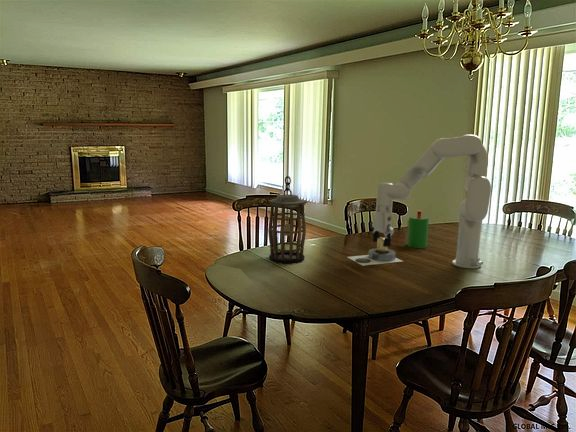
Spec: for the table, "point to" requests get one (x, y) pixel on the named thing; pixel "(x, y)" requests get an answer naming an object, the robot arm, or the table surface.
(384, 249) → the brass round-ended cylinder
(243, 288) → the table surface
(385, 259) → the ring
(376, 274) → the table surface
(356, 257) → the base plate
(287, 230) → the lantern
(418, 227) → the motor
